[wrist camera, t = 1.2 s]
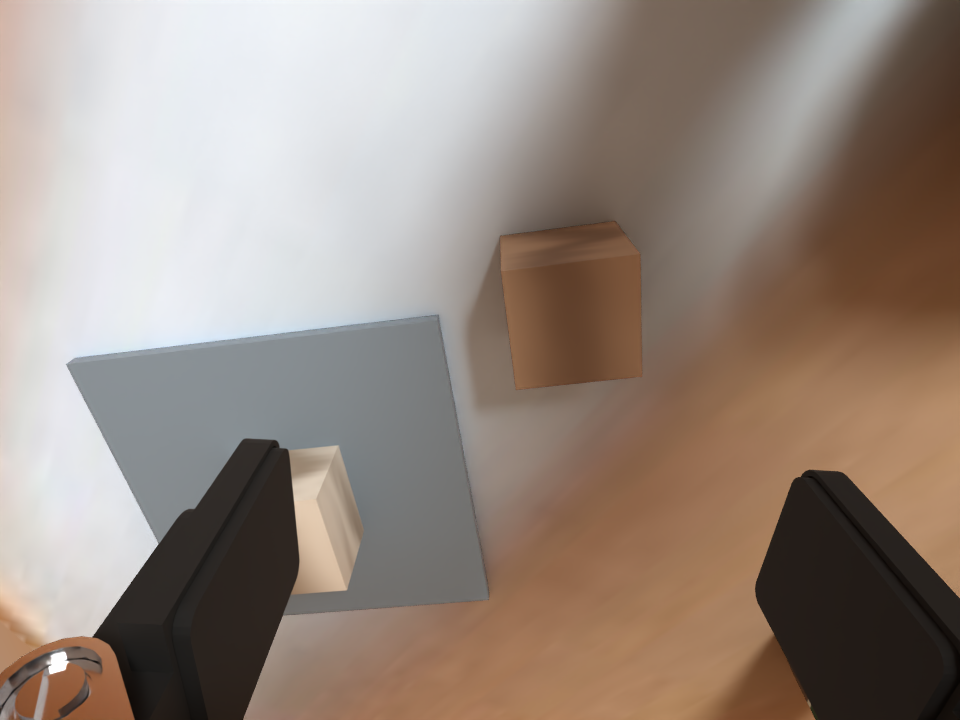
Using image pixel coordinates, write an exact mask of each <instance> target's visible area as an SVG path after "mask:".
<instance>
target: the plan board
mask: <svg viewBox="0 0 960 720" xmlns="http://www.w3.org/2000/svg"><path fill="white" fill-rule="evenodd" d="M66 365H67V367H68V369H69V371H70V373H71V375H72V377H73V379H74V381H75V383H76V384H77V386H78V388H79V390H80V392H81V394H82V396H83V398H84V400H85V402H86V404H87V406H88V408H89V410H90V412H91V413H92V415H93V417H94V419H95V421H96V423H97V425H98V427H99V429H100V431H101V433H102V435H103V437H104V439H105V440H106V442H107V444H108V446H109V448H110V450H111V452H112V454H113V456H114V458H115V460H116V462H117V464H118V466H119V468H120V469H121V471H122V473H123V475H124V477H125V479H126V481H127V483H128V485H129V487H130V489H131V491H132V493H133V495H134V497H135V498H136V500H137V502H138V504H139V506H140V508H141V510H142V512H143V514H144V516H145V518H146V520H147V522H148V524H149V525H150V527H151V529H152V531H153V533H154V535H155V537H156V539H157V541H158V543H160V542H161V540H162V539H163V537H164V536H165V535H166V533H167V532H168V530H169V529H170V528H171V526H172V525H173V523H174V522H175V521H176V519H177V518H178V517H179V516H180V514H181V513H182V512H183V511H185V510H187V509H195V508H196V506H197V505H198V503H199V502H200V500H201V499H202V498H203V496H204V495H205V493H206V492H207V490H208V489H209V487H210V486H211V484H212V483H213V482H214V480H215V479H216V477H217V476H218V474H219V473H220V471H221V470H222V468H223V467H224V465H225V464H226V463H227V461H228V460H229V458H230V457H231V455H232V454H233V452H234V451H235V450H236V448H237V447H238V445H239V444H240V442H241V441H242V440H243V439H245V438H251V439H269V440H276V441H278V443H279V446H280V448H286V449H288V450H297V449H307V448H316V447H326V446H336V445H339V449H340V452H341V455H342V459H343V462H344V465H345V469H346V472H347V475H348V479H349V482H350V485H351V488H352V492H353V495H354V498H355V502H356V505H357V508H358V512H359V515H360V518H361V522H362V525H363V528H364V532H363V536H362V539H361V543H360V546H359V550H358V553H357V557H356V560H355V564H354V567H353V571H352V574H351V578H350V581H349V585H348V588H347V590H344V591H332V592H319V593H306V594H293V595H290V598H289V600H288V603H287V606H286V608H285V611H284V613H283V615H296V614H309V613H322V612H336V611H349V610H362V609H376V608H389V607H402V606H415V605H429V604H442V603H455V602H468V601H482V600H489V587H488V582H487V577H486V571H485V566H484V560H483V555H482V549H481V544H480V539H479V533H478V528H477V522H476V517H475V512H474V506H473V501H472V495H471V490H470V484H469V479H468V474H467V468H466V463H465V457H464V452H463V447H462V441H461V436H460V430H459V425H458V419H457V414H456V409H455V403H454V398H453V392H452V387H451V382H450V376H449V371H448V365H447V360H446V354H445V349H444V344H443V338H442V333H441V327H440V322H439V316H438V315H433V316H425V317H416V318H408V319H400V320H391V321H383V322H374V323H366V324H358V325H349V326H341V327H332V328H324V329H316V330H307V331H299V332H290V333H282V334H274V335H265V336H257V337H248V338H240V339H232V340H223V341H215V342H206V343H198V344H190V345H181V346H173V347H165V348H156V349H148V350H139V351H131V352H123V353H114V354H106V355H97V356H89V357H81V358H75V359H73V360H72V361H70V362H69V363H67V364H66Z"/></svg>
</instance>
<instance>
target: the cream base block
mask: <svg viewBox="0 0 960 720" xmlns="http://www.w3.org/2000/svg"><path fill="white" fill-rule="evenodd" d="M288 451H289V456H290V465H291V476H292V486H293V496H294V506H295V517H296V527H297V537H298V547H299V559H300V563H299V572H298V576H297V579H296V582H295V585H294V587H293V590H292V593H291V595H293V594H306V593H319V592H332V591H344V590H347V588H348V585H349V581H350V578H351V574H352V571H353V567H354V564H355V560H356V557H357V553H358V550H359V546H360V543H361V539H362V536H363V532H364V528H363V525H362V522H361V518H360V515H359V512H358V508H357V505H356V502H355V498H354V495H353V492H352V488H351V485H350V482H349V479H348V475H347V472H346V469H345V465H344V462H343V459H342V455H341V452H340V449H339V445H336V446H326V447H316V448H307V449H297V450H288ZM224 466H225V465H224Z"/></svg>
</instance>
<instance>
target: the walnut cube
mask: <svg viewBox="0 0 960 720" xmlns="http://www.w3.org/2000/svg"><path fill="white" fill-rule="evenodd" d="M500 255H501V276H502V284H503V292H504V300H505V308H506V316H507V324H508V332H509V340H510V348H511V355H512V363H513V371H514V379H515V387H516V390H520V389H530V388H539V387H548V386H558V385H567V384H576V383H586V382H595V381H605V380H614V379H623V378H633V377H642V336H641V264H640V253H639V252H638V250H637V249H636V248H635V246H634V245H633V244H632V242H631V241H630V240H629V239H628V237H627V236H626V235H625V233H624V232H623V231H622V229H621V228H620V227H619V225H618V224H617V223H616V222H615V221H611V222H604V223H596V224H588V225H580V226H573V227H565V228H557V229H549V230H542V231H534V232H526V233H518V234H511V235H503V236H500Z"/></svg>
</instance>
